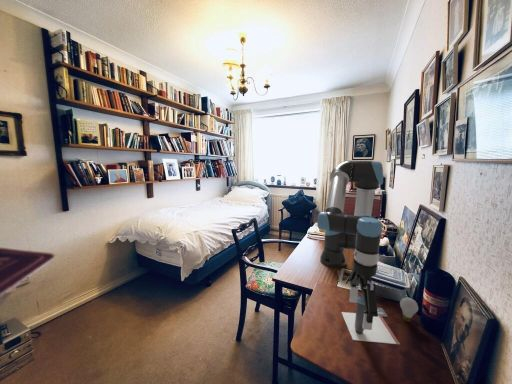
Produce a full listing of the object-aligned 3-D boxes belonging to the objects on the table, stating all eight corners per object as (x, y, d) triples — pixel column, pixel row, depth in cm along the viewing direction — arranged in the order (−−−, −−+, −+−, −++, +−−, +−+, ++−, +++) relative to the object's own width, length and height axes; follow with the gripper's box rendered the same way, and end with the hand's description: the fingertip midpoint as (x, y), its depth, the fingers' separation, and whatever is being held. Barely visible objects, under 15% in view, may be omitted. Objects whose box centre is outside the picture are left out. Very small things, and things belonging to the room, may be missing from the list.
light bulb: (398, 313, 91) (401, 292, 89) (416, 320, 87) (419, 298, 85) (397, 321, 86) (400, 299, 85) (415, 329, 83) (418, 306, 81)
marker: (352, 327, 82) (355, 295, 80) (361, 327, 82) (364, 295, 79) (356, 335, 79) (359, 301, 76) (365, 335, 79) (368, 301, 76)
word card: (365, 307, 94) (365, 306, 94) (381, 308, 94) (382, 307, 94) (370, 315, 89) (370, 314, 89) (387, 317, 89) (387, 316, 89)
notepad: (341, 312, 91) (341, 311, 91) (380, 315, 89) (380, 315, 89) (352, 340, 77) (353, 339, 77) (399, 344, 76) (400, 343, 76)
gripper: (343, 245, 89) (339, 292, 92) (369, 280, 64) (362, 341, 68) (362, 246, 88) (357, 293, 92) (395, 282, 64) (386, 344, 67)
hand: (359, 314), depth 80 cm, fingers open, 13 cm apart
